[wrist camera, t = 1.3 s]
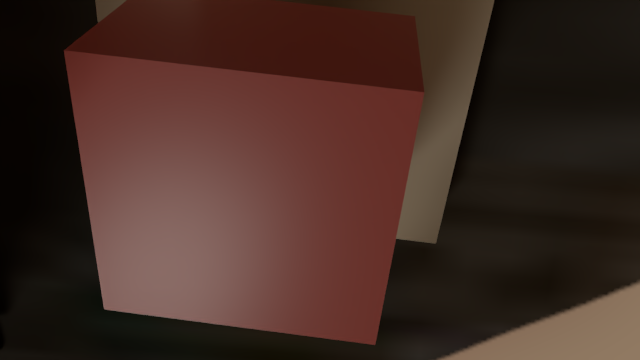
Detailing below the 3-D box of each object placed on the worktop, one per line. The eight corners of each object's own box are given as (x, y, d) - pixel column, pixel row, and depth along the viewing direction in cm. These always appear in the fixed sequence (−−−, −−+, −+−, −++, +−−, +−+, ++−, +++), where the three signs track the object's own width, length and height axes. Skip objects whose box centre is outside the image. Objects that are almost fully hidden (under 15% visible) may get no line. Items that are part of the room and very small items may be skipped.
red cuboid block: (161, 205, 17) (104, 309, 13) (145, -14, 13) (64, 50, 10) (377, 232, 16) (374, 344, 13) (415, 16, 13) (424, 92, 10)
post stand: (136, 179, 20) (43, 320, 15) (107, -116, 15) (-47, -69, 10) (432, 215, 20) (450, 372, 14) (499, -75, 15) (563, -1, 10)
